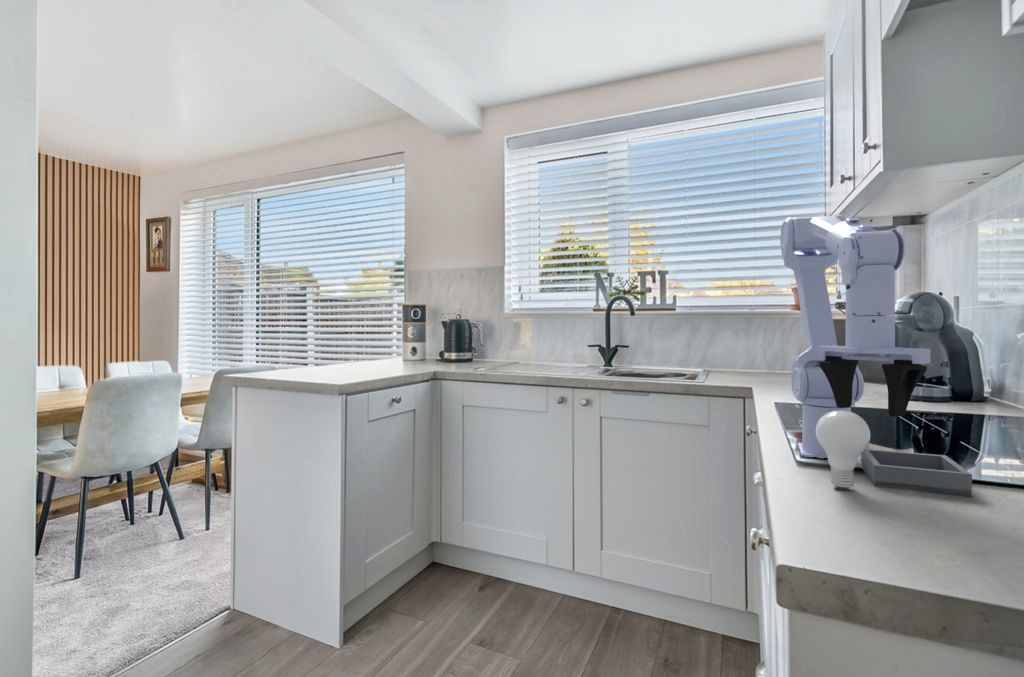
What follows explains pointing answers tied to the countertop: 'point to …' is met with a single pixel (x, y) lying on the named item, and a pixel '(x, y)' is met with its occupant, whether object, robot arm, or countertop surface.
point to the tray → (916, 472)
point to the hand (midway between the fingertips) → (869, 411)
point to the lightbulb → (842, 444)
